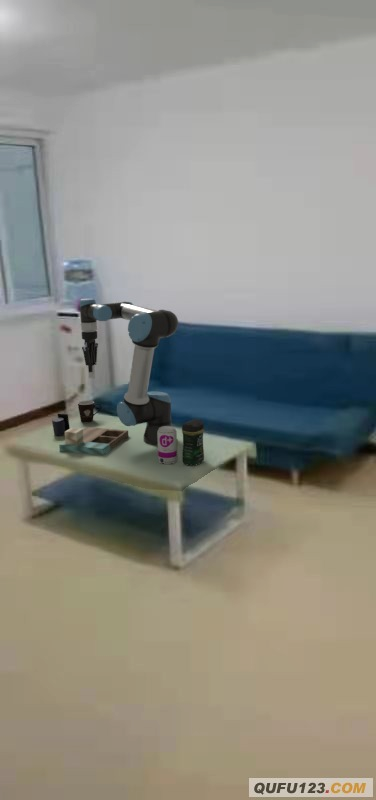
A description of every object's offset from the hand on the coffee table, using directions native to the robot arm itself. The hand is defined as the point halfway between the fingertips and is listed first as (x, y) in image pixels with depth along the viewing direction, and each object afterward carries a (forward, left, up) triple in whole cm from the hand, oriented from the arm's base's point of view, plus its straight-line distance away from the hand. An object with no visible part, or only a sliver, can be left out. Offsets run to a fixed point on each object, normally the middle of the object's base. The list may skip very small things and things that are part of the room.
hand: (92, 378), depth 311 cm
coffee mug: (+9, -12, -27) cm, 31 cm away
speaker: (+12, +13, -27) cm, 32 cm away
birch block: (-5, +31, -23) cm, 39 cm away
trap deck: (-10, +21, -26) cm, 35 cm away
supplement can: (-52, +35, -27) cm, 68 cm away
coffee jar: (-63, +33, -27) cm, 76 cm away
